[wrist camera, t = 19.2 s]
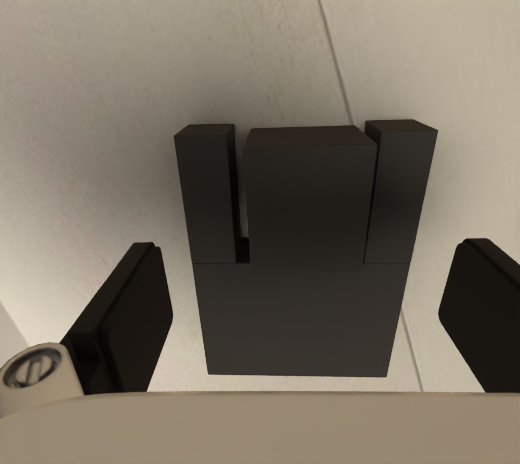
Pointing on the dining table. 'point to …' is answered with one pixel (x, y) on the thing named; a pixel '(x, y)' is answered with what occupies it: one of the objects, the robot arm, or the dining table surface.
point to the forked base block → (301, 284)
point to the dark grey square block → (308, 198)
